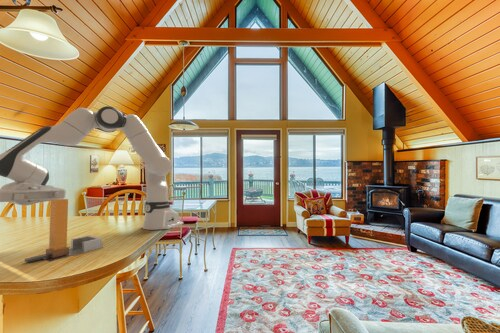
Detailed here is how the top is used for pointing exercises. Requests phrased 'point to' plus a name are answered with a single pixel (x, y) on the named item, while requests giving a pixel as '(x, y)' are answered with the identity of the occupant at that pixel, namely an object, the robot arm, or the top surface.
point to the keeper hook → (86, 243)
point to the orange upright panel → (56, 231)
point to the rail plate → (71, 253)
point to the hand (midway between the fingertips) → (41, 196)
